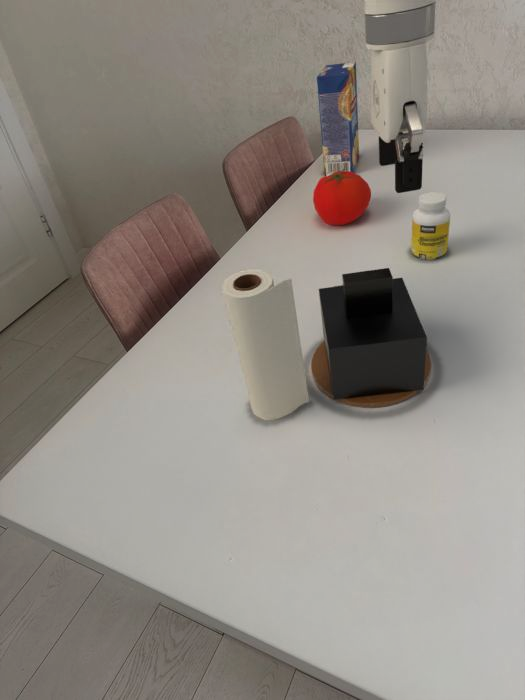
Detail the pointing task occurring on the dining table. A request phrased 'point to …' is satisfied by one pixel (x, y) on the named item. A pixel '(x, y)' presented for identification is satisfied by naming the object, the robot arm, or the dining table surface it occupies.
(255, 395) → the paper towel roll
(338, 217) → the tomato
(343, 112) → the juice carton
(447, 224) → the pill bottle
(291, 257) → the dining table surface
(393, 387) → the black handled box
